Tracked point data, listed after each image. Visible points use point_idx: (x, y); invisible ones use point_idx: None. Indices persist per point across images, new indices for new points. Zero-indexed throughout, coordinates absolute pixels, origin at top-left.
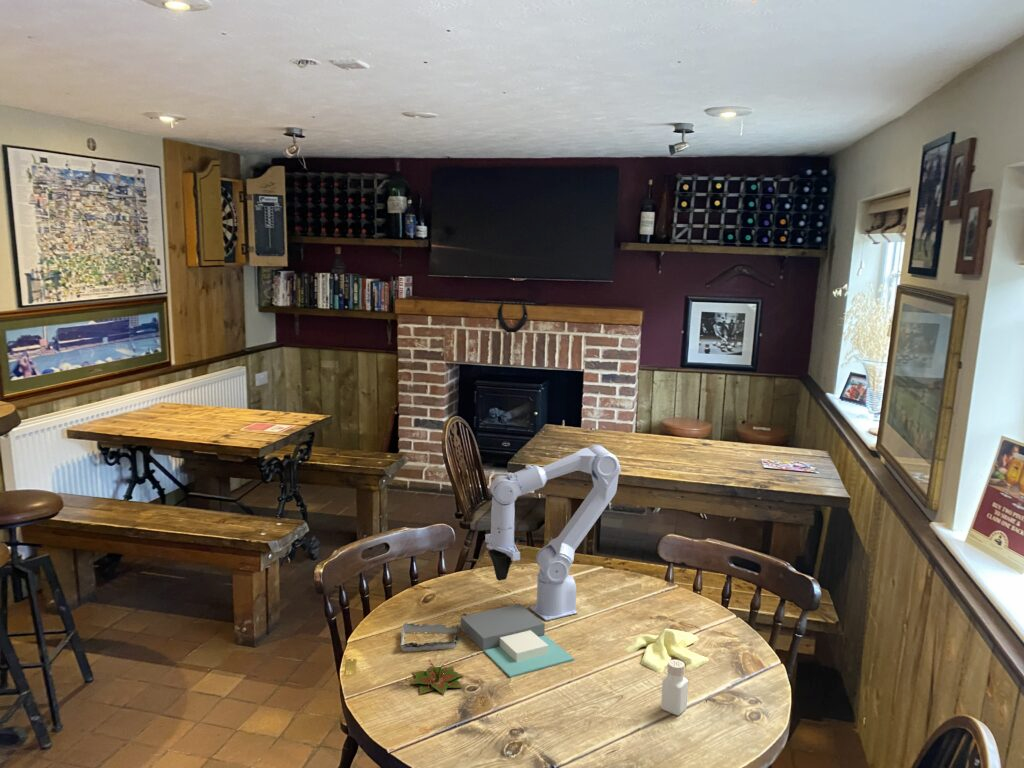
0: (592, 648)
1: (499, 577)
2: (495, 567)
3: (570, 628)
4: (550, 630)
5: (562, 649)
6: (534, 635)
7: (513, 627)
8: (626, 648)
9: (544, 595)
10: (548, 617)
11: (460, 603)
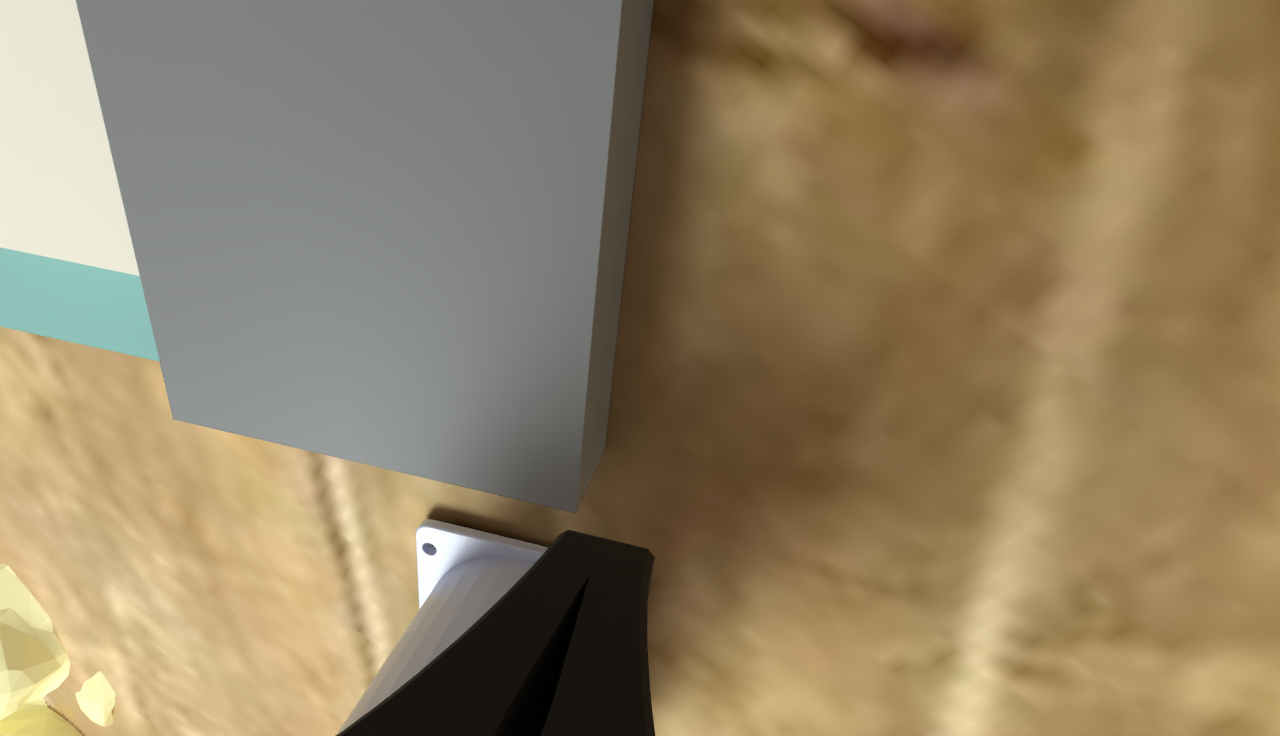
0: (43, 472)
1: (535, 570)
2: (550, 707)
3: (287, 552)
4: (304, 452)
5: (22, 327)
6: (64, 245)
7: (172, 162)
8: (12, 581)
9: (400, 685)
10: (435, 554)
11: (1230, 175)
